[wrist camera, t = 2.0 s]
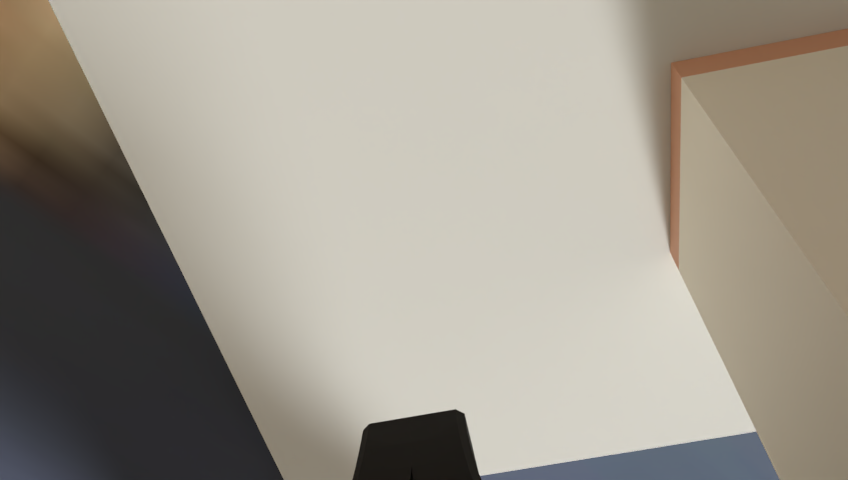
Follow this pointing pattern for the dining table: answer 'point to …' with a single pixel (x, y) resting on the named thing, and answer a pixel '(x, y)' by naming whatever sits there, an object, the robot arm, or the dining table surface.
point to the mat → (431, 209)
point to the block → (770, 235)
